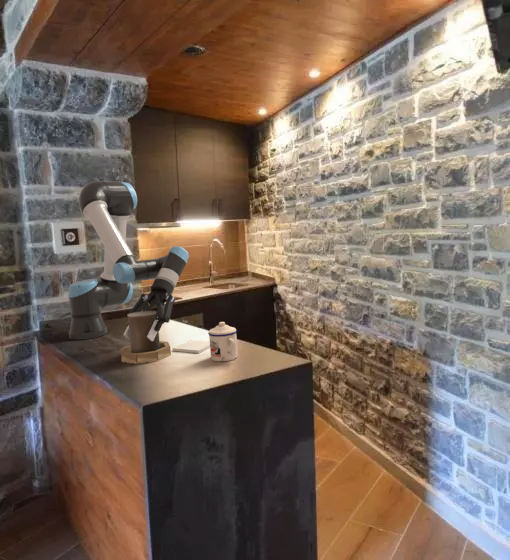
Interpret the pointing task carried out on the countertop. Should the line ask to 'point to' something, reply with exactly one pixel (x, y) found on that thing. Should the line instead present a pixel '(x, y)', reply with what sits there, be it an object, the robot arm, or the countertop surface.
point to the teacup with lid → (223, 342)
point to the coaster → (193, 346)
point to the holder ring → (145, 354)
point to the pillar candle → (142, 331)
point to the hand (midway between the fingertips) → (138, 338)
